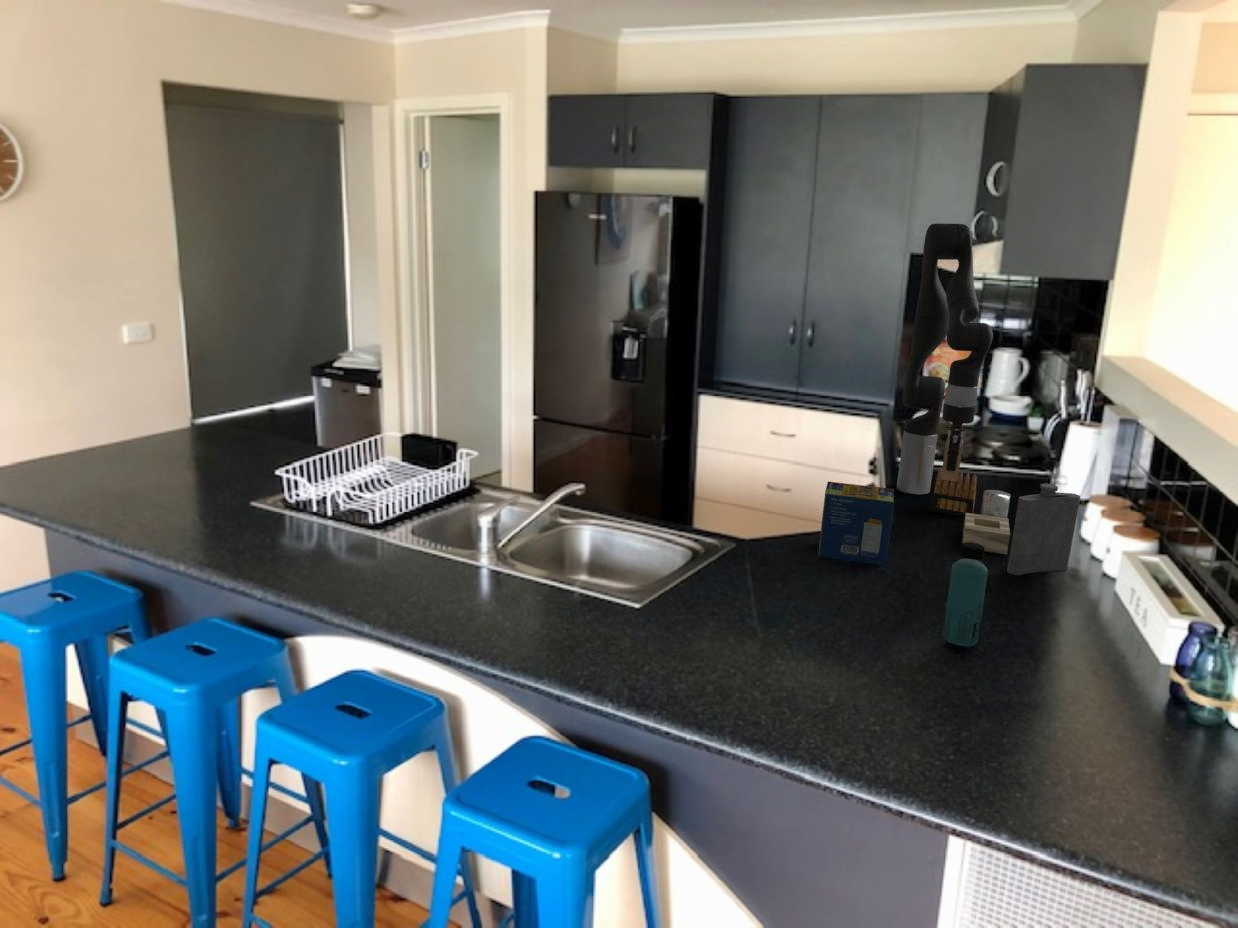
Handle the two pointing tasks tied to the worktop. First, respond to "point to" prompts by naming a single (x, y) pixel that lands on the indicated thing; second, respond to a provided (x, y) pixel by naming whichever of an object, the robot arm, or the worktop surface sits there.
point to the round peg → (995, 503)
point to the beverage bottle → (966, 597)
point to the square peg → (945, 473)
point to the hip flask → (1043, 531)
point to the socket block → (987, 532)
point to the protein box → (856, 523)
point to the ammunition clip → (957, 498)
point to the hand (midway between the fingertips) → (950, 467)
